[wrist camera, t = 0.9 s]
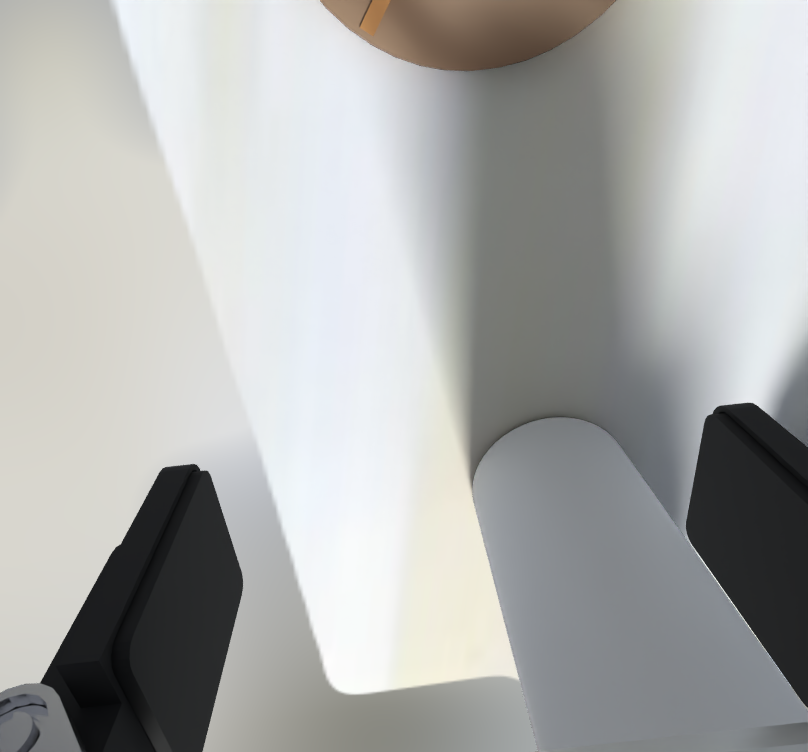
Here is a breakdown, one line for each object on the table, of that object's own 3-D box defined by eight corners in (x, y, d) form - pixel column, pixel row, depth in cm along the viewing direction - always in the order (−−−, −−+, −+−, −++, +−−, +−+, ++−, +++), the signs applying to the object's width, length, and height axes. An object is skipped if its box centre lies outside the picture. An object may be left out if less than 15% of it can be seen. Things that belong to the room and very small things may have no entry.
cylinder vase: (464, 424, 43) (570, 786, 21) (626, 401, 43) (907, 740, 21) (475, 545, 49) (567, 929, 26) (618, 525, 49) (830, 893, 26)
